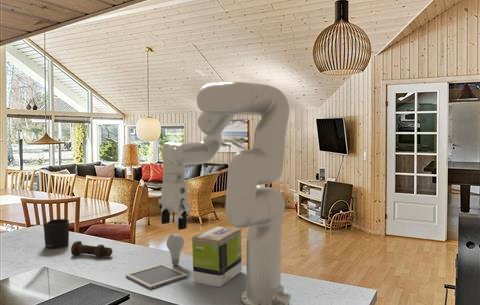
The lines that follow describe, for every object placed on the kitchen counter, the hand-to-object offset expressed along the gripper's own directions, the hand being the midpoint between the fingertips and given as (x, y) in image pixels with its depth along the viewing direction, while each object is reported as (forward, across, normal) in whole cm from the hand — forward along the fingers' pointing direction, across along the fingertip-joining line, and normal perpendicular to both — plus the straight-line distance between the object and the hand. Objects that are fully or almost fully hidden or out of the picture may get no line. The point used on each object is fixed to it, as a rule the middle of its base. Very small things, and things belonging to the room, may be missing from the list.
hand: (173, 226), depth 139 cm
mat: (+14, -6, +11) cm, 18 cm away
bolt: (+15, +30, +16) cm, 37 cm away
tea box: (+14, -20, -3) cm, 24 cm away
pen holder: (+15, +52, +20) cm, 58 cm away
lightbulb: (+14, -1, 0) cm, 14 cm away
